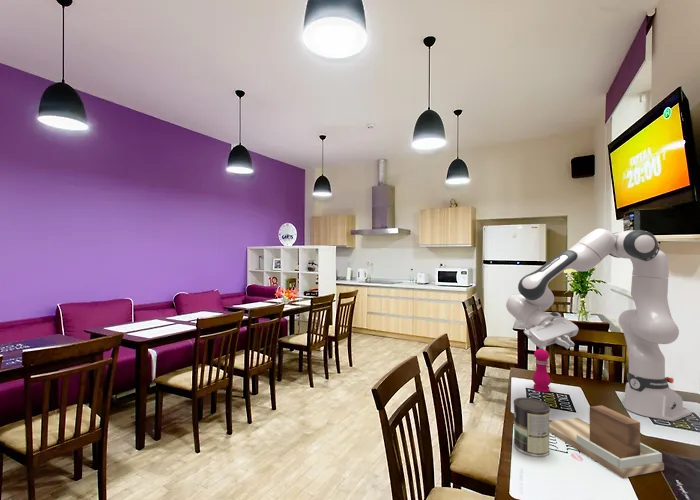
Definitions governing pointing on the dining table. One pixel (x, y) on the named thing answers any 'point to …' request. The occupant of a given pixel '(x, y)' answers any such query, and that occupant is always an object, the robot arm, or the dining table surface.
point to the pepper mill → (541, 371)
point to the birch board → (569, 432)
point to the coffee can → (531, 426)
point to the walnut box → (614, 432)
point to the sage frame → (623, 463)
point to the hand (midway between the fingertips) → (571, 346)
